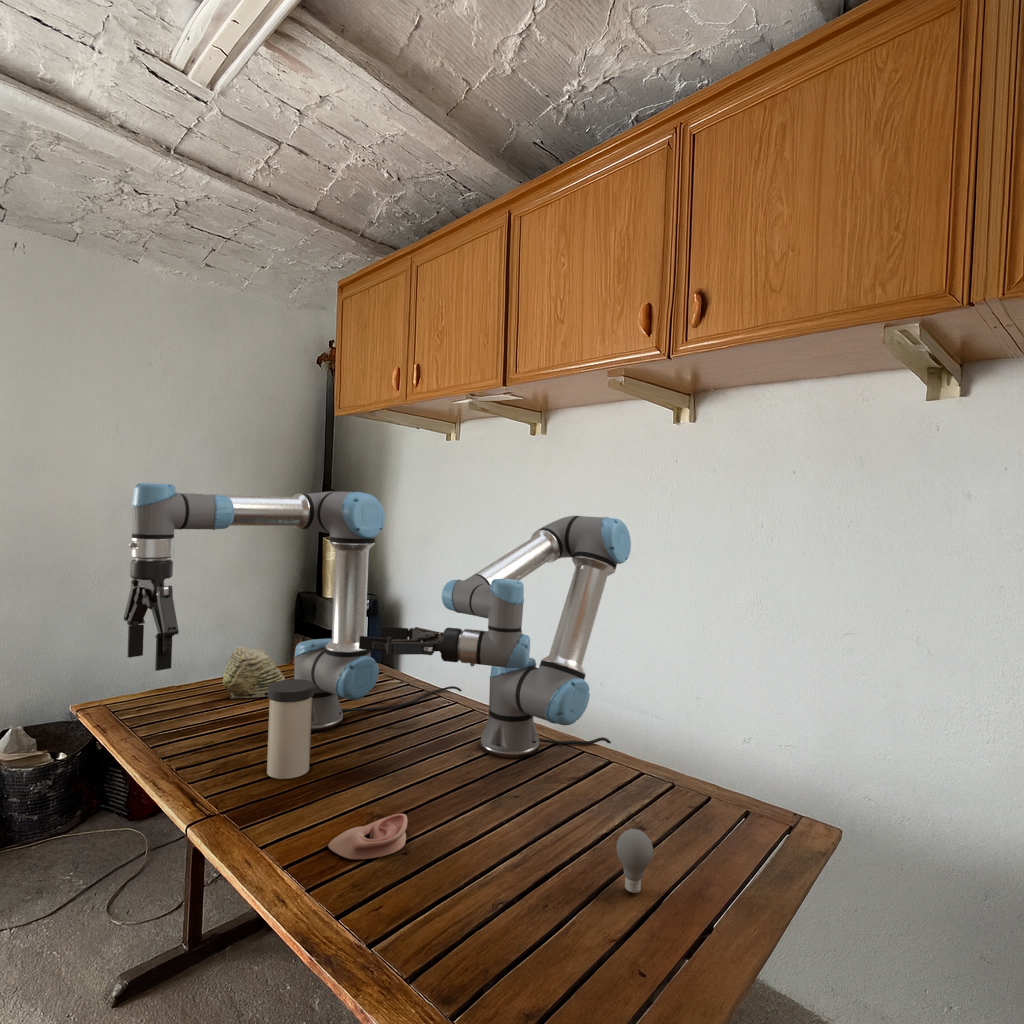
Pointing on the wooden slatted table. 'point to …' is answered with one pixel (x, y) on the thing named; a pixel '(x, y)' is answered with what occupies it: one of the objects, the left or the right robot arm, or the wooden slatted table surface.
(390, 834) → the anatomical model
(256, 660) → the fossil
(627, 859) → the light bulb
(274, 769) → the jar
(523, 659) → the right robot arm
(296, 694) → the lid
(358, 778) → the wooden slatted table surface
